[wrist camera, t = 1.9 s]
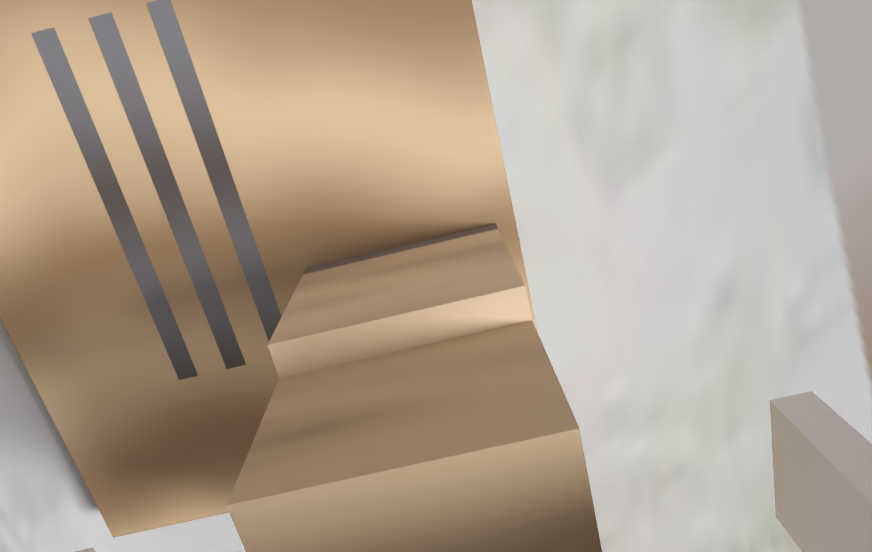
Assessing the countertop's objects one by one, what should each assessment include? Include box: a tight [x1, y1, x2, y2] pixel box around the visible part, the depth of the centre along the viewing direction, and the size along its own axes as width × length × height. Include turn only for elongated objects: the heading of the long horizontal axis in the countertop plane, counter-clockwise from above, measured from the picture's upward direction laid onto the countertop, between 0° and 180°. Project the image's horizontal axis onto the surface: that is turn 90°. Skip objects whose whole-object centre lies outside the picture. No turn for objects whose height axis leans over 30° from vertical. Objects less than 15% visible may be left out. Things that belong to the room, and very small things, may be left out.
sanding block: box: [226, 223, 602, 552], centre depth 15 cm, size 8×6×9 cm
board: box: [0, 0, 537, 538], centre depth 18 cm, size 16×15×2 cm
